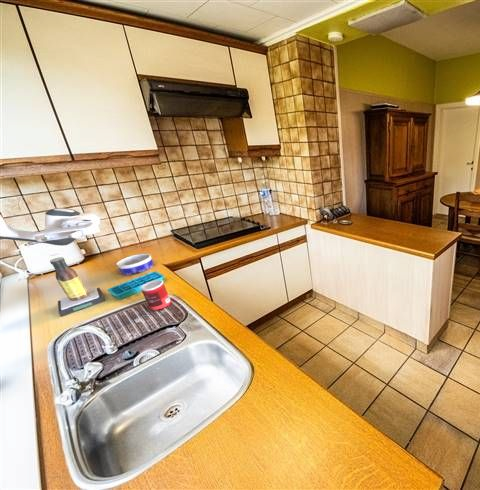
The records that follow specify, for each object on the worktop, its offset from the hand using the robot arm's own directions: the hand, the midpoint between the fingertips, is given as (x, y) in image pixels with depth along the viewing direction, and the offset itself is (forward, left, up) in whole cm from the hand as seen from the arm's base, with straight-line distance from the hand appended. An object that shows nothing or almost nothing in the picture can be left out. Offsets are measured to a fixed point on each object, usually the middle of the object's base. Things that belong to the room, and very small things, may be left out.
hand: (56, 238), depth 115 cm
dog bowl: (+21, +16, -30) cm, 40 cm away
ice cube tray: (+17, -11, -30) cm, 37 cm away
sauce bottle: (-3, -6, -27) cm, 28 cm away
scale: (-3, -6, -30) cm, 31 cm away
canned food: (+20, -39, -30) cm, 54 cm away
